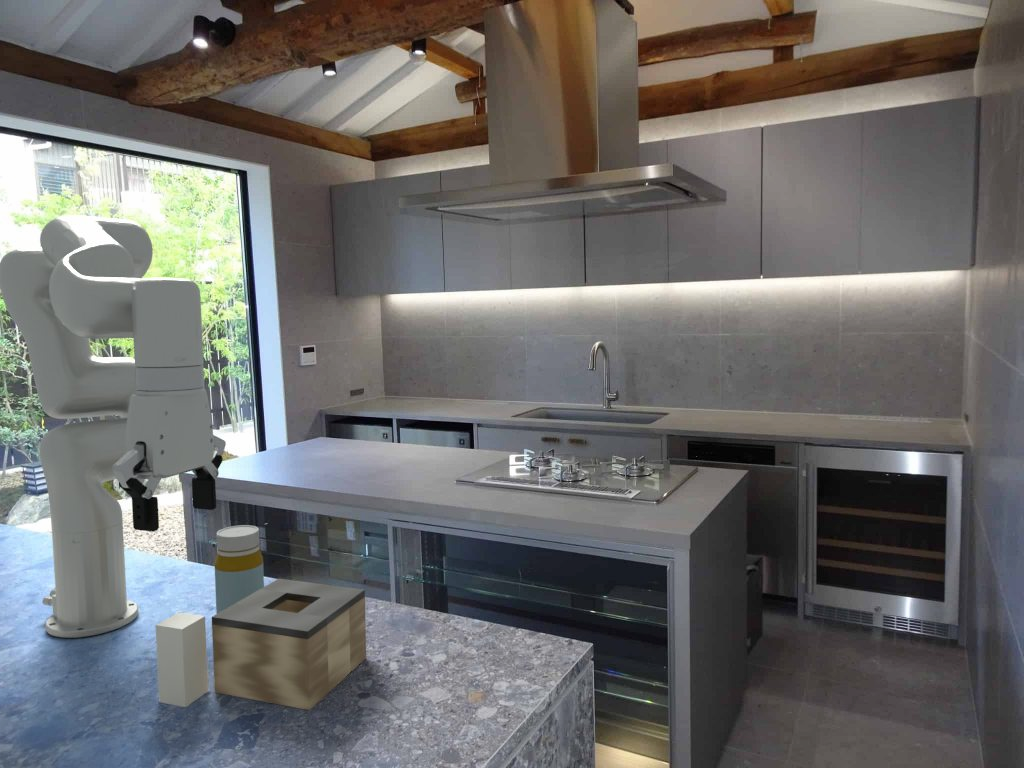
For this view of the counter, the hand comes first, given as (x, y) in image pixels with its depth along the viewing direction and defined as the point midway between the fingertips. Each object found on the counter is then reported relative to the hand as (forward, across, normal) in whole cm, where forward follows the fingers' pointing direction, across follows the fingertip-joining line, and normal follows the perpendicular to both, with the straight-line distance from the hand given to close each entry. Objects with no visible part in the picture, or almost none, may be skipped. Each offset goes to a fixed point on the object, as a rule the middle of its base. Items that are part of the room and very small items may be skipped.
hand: (177, 518), depth 89 cm
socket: (+23, -9, +10) cm, 27 cm away
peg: (+23, 0, 0) cm, 23 cm away
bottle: (+23, -20, -7) cm, 31 cm away
